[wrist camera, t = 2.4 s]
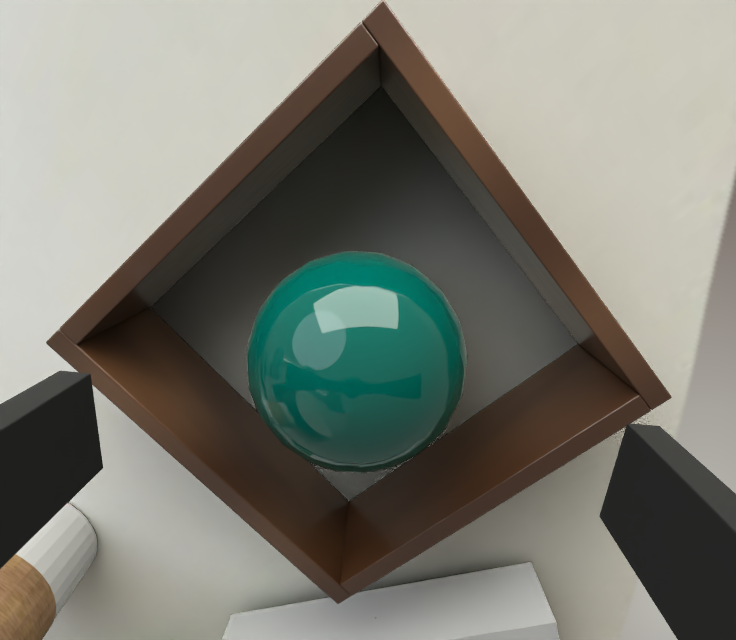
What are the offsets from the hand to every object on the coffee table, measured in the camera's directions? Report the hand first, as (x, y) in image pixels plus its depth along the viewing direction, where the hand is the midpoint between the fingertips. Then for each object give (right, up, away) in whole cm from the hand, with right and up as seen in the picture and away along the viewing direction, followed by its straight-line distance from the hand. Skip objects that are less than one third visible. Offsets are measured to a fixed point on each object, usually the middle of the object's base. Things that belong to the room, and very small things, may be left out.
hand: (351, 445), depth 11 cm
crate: (0, +3, +9) cm, 10 cm away
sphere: (0, +3, +9) cm, 10 cm away
